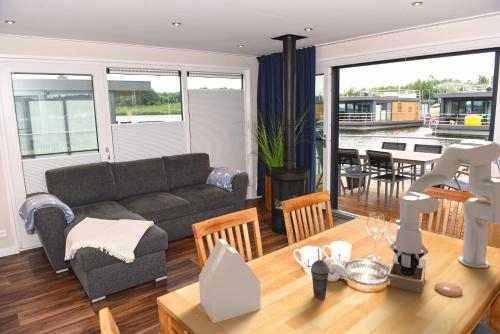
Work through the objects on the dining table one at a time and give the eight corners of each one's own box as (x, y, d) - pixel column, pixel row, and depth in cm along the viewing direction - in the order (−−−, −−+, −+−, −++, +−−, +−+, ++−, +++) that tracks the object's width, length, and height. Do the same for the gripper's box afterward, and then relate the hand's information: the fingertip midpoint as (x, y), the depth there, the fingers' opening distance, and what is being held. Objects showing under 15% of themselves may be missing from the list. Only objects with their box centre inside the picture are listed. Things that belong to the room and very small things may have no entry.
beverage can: (416, 278, 151) (417, 251, 149) (402, 277, 152) (403, 251, 150) (413, 272, 157) (414, 246, 155) (399, 271, 158) (400, 245, 156)
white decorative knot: (356, 280, 157) (357, 261, 156) (336, 288, 151) (337, 268, 149) (337, 271, 167) (338, 252, 165) (318, 277, 160) (318, 259, 159)
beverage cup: (318, 303, 139) (318, 255, 136) (306, 295, 146) (307, 249, 142) (332, 298, 143) (333, 251, 139) (321, 290, 149) (321, 245, 146)
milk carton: (213, 323, 129) (210, 258, 125) (200, 302, 143) (197, 243, 138) (260, 309, 137) (259, 247, 133) (244, 291, 151) (242, 234, 146)
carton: (393, 267, 168) (394, 254, 167) (425, 273, 161) (426, 259, 160) (385, 290, 148) (385, 274, 147) (421, 298, 142) (422, 282, 140)
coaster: (435, 282, 154) (435, 280, 154) (462, 287, 149) (462, 285, 149) (433, 293, 145) (434, 290, 145) (462, 299, 140) (462, 296, 140)
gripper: (386, 225, 152) (385, 265, 155) (431, 231, 143) (429, 273, 146) (389, 220, 158) (388, 258, 161) (432, 225, 150) (430, 265, 153)
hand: (408, 265), depth 154 cm, fingers closed on beverage can, 5 cm apart
